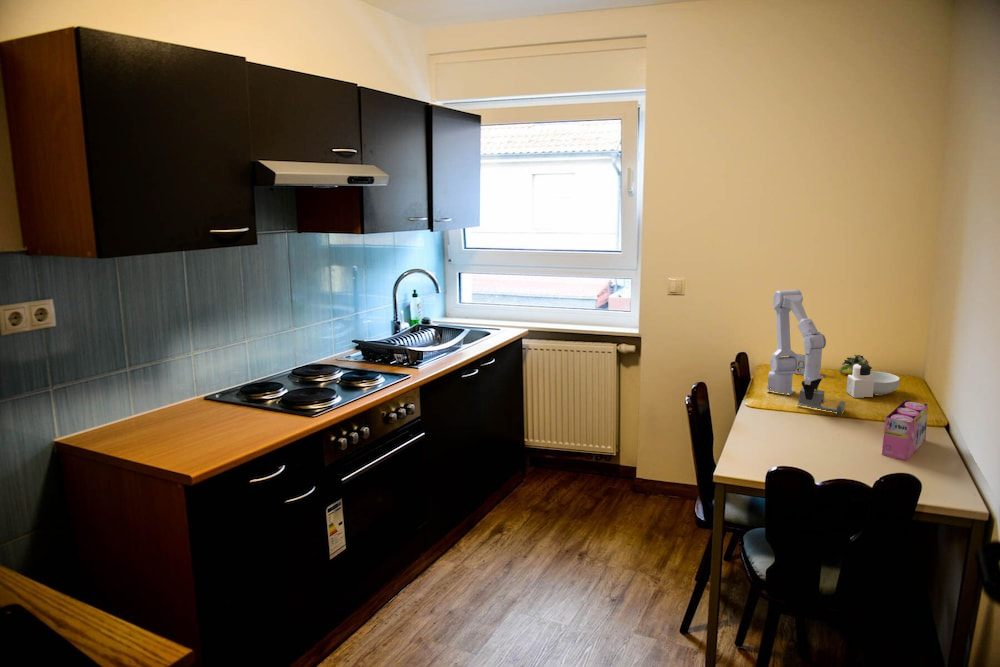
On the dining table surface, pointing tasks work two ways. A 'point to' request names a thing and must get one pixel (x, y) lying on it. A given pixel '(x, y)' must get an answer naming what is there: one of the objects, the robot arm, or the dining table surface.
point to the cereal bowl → (884, 382)
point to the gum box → (905, 430)
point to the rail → (839, 408)
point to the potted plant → (853, 363)
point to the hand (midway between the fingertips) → (810, 397)
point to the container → (860, 382)
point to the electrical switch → (800, 364)
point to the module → (816, 400)
